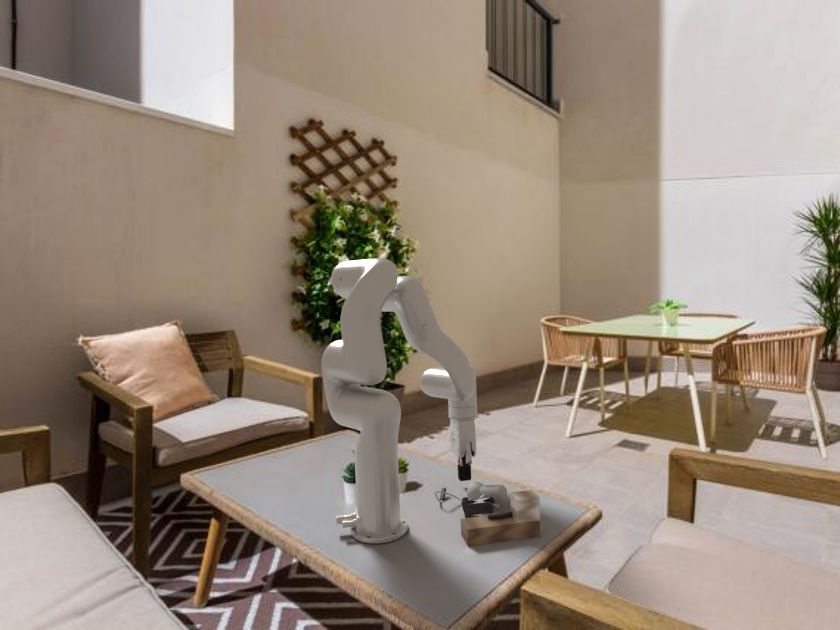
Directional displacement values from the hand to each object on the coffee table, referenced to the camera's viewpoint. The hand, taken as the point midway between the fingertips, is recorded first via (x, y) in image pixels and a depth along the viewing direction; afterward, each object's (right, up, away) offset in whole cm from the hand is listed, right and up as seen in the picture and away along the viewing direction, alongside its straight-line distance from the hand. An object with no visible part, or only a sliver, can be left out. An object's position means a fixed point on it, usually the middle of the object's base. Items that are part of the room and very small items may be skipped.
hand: (464, 479), depth 137 cm
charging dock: (+5, -3, -27) cm, 28 cm away
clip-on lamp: (0, -3, -12) cm, 13 cm away
